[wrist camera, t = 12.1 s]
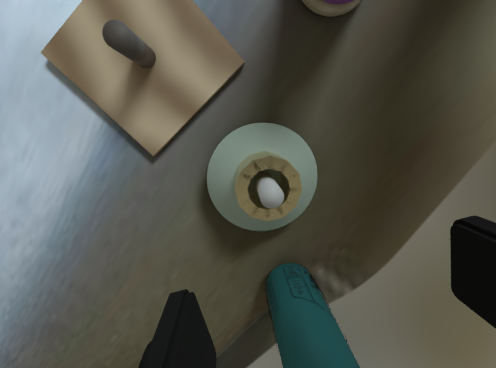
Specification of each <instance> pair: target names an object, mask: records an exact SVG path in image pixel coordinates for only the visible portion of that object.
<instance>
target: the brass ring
mask: <svg viewBox="0 0 496 368" xmlns="http://www.w3.org/2000/svg"><path fill="white" fill-rule="evenodd" d="M266 169H274V170H277V171H280V176H281V182H280V185H279V187H280V188H281V190H282V191H283V193H284V200H283V202H282V204H281V205H280V206H278V207H277V208H273V209H270V208H267V207H265V206H264V205H263V204H262V203H261V201H260V198H259V196H257V195H254V194H253V193H252V192H251V191H250V190H249V189H248V186H249V183H250V180H251V178H252V177H253V176H254V175H256V174H257V173H258V172H259V171H262V170H266ZM235 192H236V196H237V199H238V203H239V206H240V207H241V208H242V209H243V210H244V211H245V212H246V213H247V214H248V215H249V216H250V217H252V218H256V219H260V220H264V221H271V220H275V219H279V218H283V217H285V216H286V215H287V214H288V213H289V212H290V211H291V210H293V209H294V208H295V207H296V206H297V204H298V201H299V198H300V195H301V193H302V185H301V180H300V174H299V172H298V171H297V170H296V169H295V168H294V167H293V166H292V165H291V164H290V163H289V162H288V160H286V159H285V158H283V157H282V156H280V155H278V154H274V153H271V152H268V151H261V152H257V153H253V154H250V155H249V156H247V157H246V158H245V159H244V160H243V161H242V162H241V163H240V164H239V165H238V169H237V172H236V176H235Z"/></svg>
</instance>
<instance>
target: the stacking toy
mask: <svg viewBox="0 0 496 368" xmlns="http://www.w3.org/2000/svg"><path fill="white" fill-rule="evenodd" d="M361 1H362V0H302V2H303V3H304V4H305V5H306V6H307V7H308V8H309V9H310V10H311V11H313V12H315V13H317V14H319V15H322V16H328V17H333V16H338V15H342V14H345V13H347V12H349V11H350V10H352V9H353V8H355V7H356V6H357V5H358V4H359V3H360V2H361Z"/></svg>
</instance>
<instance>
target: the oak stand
mask: <svg viewBox="0 0 496 368" xmlns="http://www.w3.org/2000/svg"><path fill="white" fill-rule="evenodd" d="M41 53H42V54H43V55H44V56H45V57H46V58H47V59H48V60H49V61H50V62H51V63H52V64H54V65H55V66H56V67H57V68H58V69H59V70H60V71H61V72H62V73H63V74H64V75H65V76H67V77H68V78H69V79H70V80H71V81H72V82H73V83H74V84H75V85H76V86H77V87H79V88H80V89H81V90H82V91H83V92H84V93H85V94H86V95H87V96H88V97H89V98H91V99H92V100H93V101H94V102H95V103H96V104H97V105H98V106H99V107H100V108H101V109H103V110H104V111H105V112H106V113H107V114H108V115H109V116H110V117H111V118H112V119H113V120H114V121H116V122H117V123H118V124H119V125H120V126H121V127H122V128H123V129H124V130H125V131H126V132H128V133H129V134H130V135H131V136H132V137H133V138H134V139H135V140H136V141H137V142H138V143H140V144H141V145H142V146H143V147H144V148H145V149H146V150H147V151H148V152H149V153H150V154H151V155H153V156H155V155H157V154H158V153H159V152H160V151H161V150H162V149H163V148H164V147H165V146H166V144H167V143H168V142H169V141H170V140H171V139H172V138H173V137H174V136H175V135H176V134H177V133H178V132H179V131H180V130H181V129H182V128H183V127H184V126H185V125H186V124H187V123H188V122H189V121H190V120H191V119H192V118H193V117H194V116H195V114H196V113H197V112H198V111H199V110H200V109H201V108H202V107H203V106H204V105H205V104H206V103H207V102H208V101H209V100H210V99H211V98H212V97H213V96H214V95H215V94H216V93H217V92H218V91H219V90H220V89H221V88H222V87H223V86H224V84H225V83H226V82H227V81H228V80H229V79H230V78H231V77H232V76H233V75H234V74H235V73H236V72H237V71H238V70H239V69H240V68H241V67H242V66H243V65H244V63H245V61H244V60H243V59H242V58H241V57H240V55H239V54H238V53H237V52H236V51H235V50H234V48H233V47H232V46H231V45H230V44H229V43H228V41H227V40H226V39H225V38H224V37H223V36H222V34H221V33H220V32H219V31H218V30H217V29H216V27H215V26H214V25H213V24H212V23H211V21H210V20H209V19H208V18H207V17H206V16H205V14H204V13H203V12H202V11H201V10H200V9H199V7H198V6H197V5H196V4H195V3H194V2H193V0H83V1H82V2H81V3H80V4H79V6H78V7H77V8H76V9H75V11H74V12H73V13H72V14H71V15H70V17H69V18H68V19H67V20H66V22H65V23H64V24H63V25H62V27H61V28H60V29H59V30H58V32H57V33H56V34H55V35H54V37H53V38H52V39H51V40H50V42H49V43H48V44H47V45H46V46H45V48H44V49H43V50H42V51H41Z"/></svg>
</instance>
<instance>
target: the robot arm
mask: <svg viewBox="0 0 496 368" xmlns="http://www.w3.org/2000/svg"><path fill="white" fill-rule="evenodd" d="M450 231H451V232H450V233H451V288H452V292H453V293H454V295H455V296H456V297H457V298H458V299H459V300H460V301H461V302H463V303H464V304H465V305H466V306H468V307H469V308H470V309H471V310H473V311H474V312H475V313H477V314H478V315H479V316H480V317H482V318H483V319H484V320H486V321H487V322H488V323H489V324H491V325H492V326H493V327H494V328H496V223H494V222H492V221H489V220H486V219H484V218H481V217H478V216H470V217H467V218H462V219H459V220H456V221H455V222H454V223H453V226H452V227H451V230H450ZM138 368H216V351H215V347H214V344H213V342H212V339H211V336H210V334H209V331H208V328H207V326H206V323H205V320H204V318H203V315H202V312H201V310H200V307H199V304H198V302H197V299H196V296H195V294H194V293H193V292H191V293H189V291H188V290H187V289H185V290H181V291H177V292H174V293H171V294H170V295H169V297H168V300H167V302H166V305H165V308H164V311H163V313H162V316H161V319H160V321H159V324H158V327H157V329H156V332H155V335H154V337H153V340H152V341H151V342H150V343H149V344H148V345H147V347H146V349H145V352H144V354H143V357H142V359H141V362H140V365H139V367H138Z"/></svg>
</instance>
